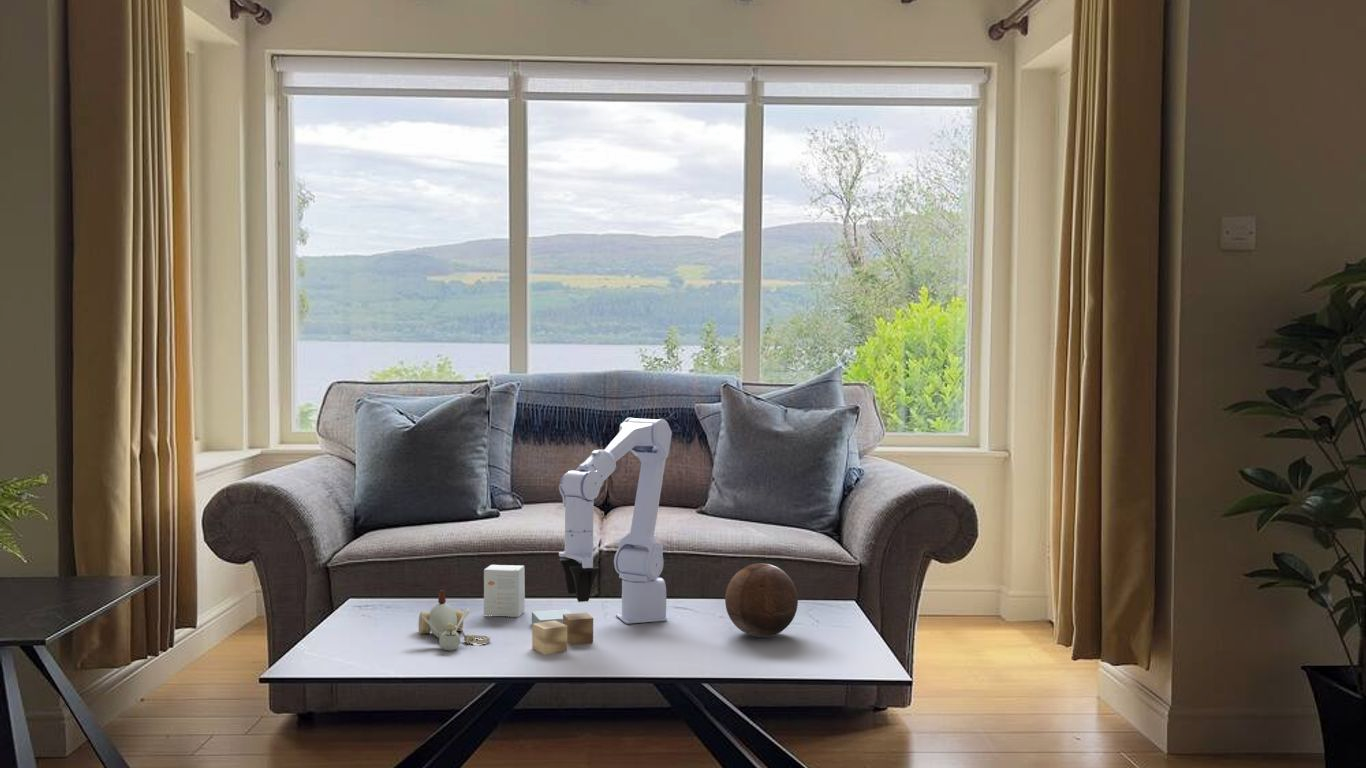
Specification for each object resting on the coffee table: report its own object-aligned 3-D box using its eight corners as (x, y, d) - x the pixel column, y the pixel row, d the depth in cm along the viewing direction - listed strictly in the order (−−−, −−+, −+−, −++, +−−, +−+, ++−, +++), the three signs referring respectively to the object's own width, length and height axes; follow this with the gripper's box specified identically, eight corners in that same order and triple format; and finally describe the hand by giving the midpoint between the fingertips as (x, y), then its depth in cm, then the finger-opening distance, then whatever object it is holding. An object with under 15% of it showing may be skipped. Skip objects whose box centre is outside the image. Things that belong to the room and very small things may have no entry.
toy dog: (441, 655, 203) (442, 609, 202) (397, 635, 217) (397, 592, 216) (497, 645, 211) (498, 600, 210) (451, 626, 225) (451, 584, 224)
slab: (568, 622, 230) (568, 608, 230) (577, 631, 222) (577, 617, 222) (531, 625, 227) (531, 611, 227) (539, 634, 219) (540, 620, 219)
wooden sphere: (811, 636, 220) (812, 564, 219) (766, 650, 209) (767, 574, 208) (755, 623, 230) (756, 554, 230) (709, 635, 219) (710, 563, 219)
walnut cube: (586, 636, 217) (586, 612, 217) (593, 642, 212) (593, 618, 212) (562, 638, 215) (563, 614, 215) (568, 644, 211) (569, 620, 211)
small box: (525, 611, 237) (525, 565, 237) (518, 617, 232) (519, 570, 231) (490, 610, 238) (490, 564, 238) (483, 616, 232) (483, 568, 232)
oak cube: (554, 645, 210) (555, 620, 210) (566, 651, 206) (567, 625, 206) (532, 648, 207) (532, 623, 207) (544, 655, 203) (544, 629, 203)
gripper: (551, 525, 219) (550, 590, 219) (568, 536, 205) (567, 606, 205) (584, 524, 221) (583, 588, 222) (603, 535, 208) (602, 604, 208)
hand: (578, 597), depth 214 cm, fingers open, 7 cm apart
